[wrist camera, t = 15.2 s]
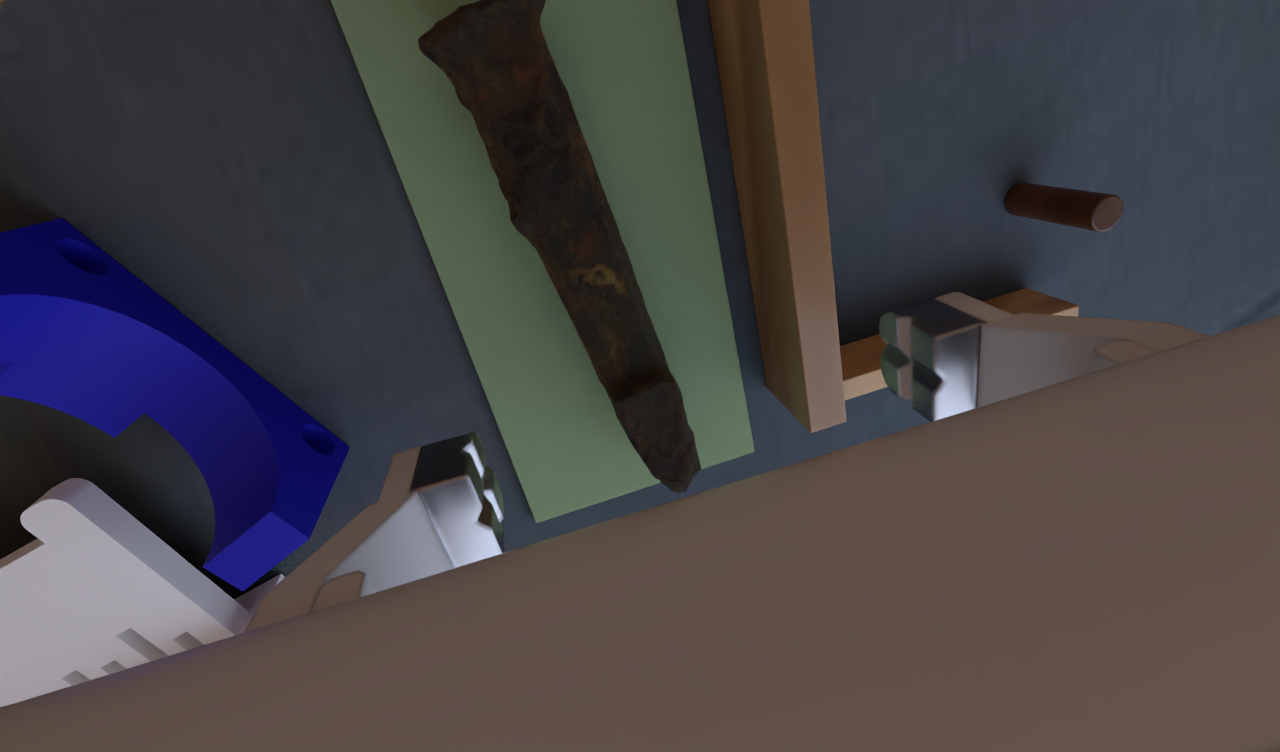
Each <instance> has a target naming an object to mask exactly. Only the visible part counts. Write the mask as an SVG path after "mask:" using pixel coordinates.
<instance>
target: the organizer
mask: <svg viewBox="0 0 1280 752" xmlns="http://www.w3.org/2000/svg"><path fill="white" fill-rule="evenodd" d="M20 521H21V524H22V525H23V527H24V528H25V529H26V530H27V531H29V532H30V533H32V534H33V535H34V536H36V537H37V538H38V539H36V540H34V541H32V542H31V543H29V544H27V545H25V546H23V547H22V548H20V549H18V550H16V551H15V552H13V553H11V554H9V555H7V556H6V557H4V558H2V559H0V707H3V706H6V705H10V704H14V703H17V702H20V701H24V700H27V699H30V698H33V697H37V696H40V695H43V694H46V693H50V692H53V691H56V690H59V689H63V688H66V687H69V686H73V685H76V684H79V683H82V682H86V681H89V680H92V679H95V678H99V677H102V676H105V675H108V674H112V673H115V672H118V671H121V670H125V669H128V668H131V667H134V666H138V665H141V664H144V663H147V662H151V661H154V660H157V659H160V658H164V657H167V656H170V655H174V654H177V653H180V652H183V651H187V650H190V649H193V648H196V647H200V646H203V645H206V644H209V643H213V642H216V641H219V640H222V639H226V638H229V637H232V636H235V635H239V634H242V633H244V631H245V629H246V627H247V625H248V624H249V622H250V620H251V618H252V616H253V614H254V612H255V610H256V608H257V606H258V604H259V602H260V600H261V598H262V597H263V596H264V595H265V594H266V593H268V592H269V591H270V590H271V589H272V588H273V587H275V586H276V585H277V584H278V583H279V582H280V581H282V580H283V579H284V578H285V576H284V575H283V574H279V575H277V576H276V577H274V578H272V579H270V580H268V581H267V582H265V583H263V584H261V585H259V586H258V587H256V588H254V589H252V590H251V591H249V592H247V593H245V594H243V595H242V596H240V597H238V598H236V599H233V598H231V597H230V596H229V595H228V594H227V593H225V592H224V591H223V590H222V589H221V588H219V587H218V586H217V585H216V584H215V583H213V582H212V581H211V580H210V579H208V578H207V577H206V576H205V575H204V574H202V573H201V572H200V571H199V570H198V569H196V568H195V567H194V566H193V565H191V564H190V563H189V562H188V561H187V560H185V559H184V558H183V557H182V556H181V555H179V554H178V553H177V552H176V551H174V550H173V549H172V548H171V547H170V546H168V545H167V544H166V543H165V542H164V541H162V540H161V539H160V538H159V537H158V536H156V535H155V534H154V533H153V532H151V531H150V530H149V529H148V528H147V527H145V526H144V525H143V524H142V523H141V522H139V521H138V520H137V519H136V518H134V517H133V516H132V515H131V514H130V513H128V512H127V511H126V510H125V509H124V508H122V507H121V506H120V505H119V504H117V503H116V502H115V501H114V500H113V499H111V498H110V497H109V496H108V495H107V494H105V493H104V492H103V491H102V490H101V489H99V488H98V487H97V486H96V485H94V484H93V483H92V482H90V481H88V480H85V479H81V478H71V479H68V480H65V481H64V482H62V483H60V484H58V485H56V486H55V487H53V488H51V489H50V490H49V491H48V492H46V493H45V494H44V495H43V496H42V497H40V498H39V499H38V500H37V501H36V502H34V503H33V504H32V505H31V506H30V507H29V508H27V509H26V510H25V511H24V512H23V513H22V514H21V517H20Z"/></svg>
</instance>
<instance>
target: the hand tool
mask: <svg viewBox="0 0 1280 752" xmlns="http://www.w3.org/2000/svg"><path fill="white" fill-rule="evenodd" d="M545 2H546V0H480V1H478V2H475V3H471V4H467V5H463V6H459V7H458V8H457V9H456V10H455V11H454V12H453V13H451V14H449V15H448V16H446V17H445V18H443V19H442V20H440V21H437V22H436V23H435V25H434V26H433V28H431V29H430V30H429V31H427V32H426V33H424V34H423V35H422V36H421V37H420V38H419V39H418V44H419V49H420V51H421V52H422V54H423V55H425V56H426V57H427V58H428V59H429V60H431V61H432V62H433V63H434V64H436V65H437V66H438V67H439V68H440V69H442V70H443V71H444V72H445V74H446V76H447V77H448V78H449V79H450V81H451V82H452V84H453V86H454V88H455V91H456V94H457V97H458V99H459V101H460V103H461V104H462V105H463V106H464V107H465V108H466V109H468V110H469V111H470V112H471V113H472V116H473V118H474V121H475V123H476V126H477V129H478V132H479V134H480V136H481V138H482V140H483V142H484V144H485V148H486V151H487V154H488V157H489V160H490V163H491V166H492V168H493V170H494V172H495V174H496V176H497V178H498V180H499V187H500V189H501V191H502V194H503V195H504V197H505V200H507V201H508V206H509V210H510V221H511V222H512V224H513V225H514V227H515V229H516V230H517V231H518V232H519V233H520V234H521V235H523V236H524V237H525V238H526V239H527V240H528V241H529V242H530V243H531V244H532V246H533V247H534V248H535V249H536V250H537V252H538V254H539V256H540V258H541V260H542V262H543V264H544V266H545V269H546V271H547V273H548V275H549V277H550V279H551V281H552V283H553V285H554V286H555V288H556V290H557V293H558V295H559V297H560V298H561V301H562V303H563V304H564V306H565V308H566V310H567V312H568V314H569V316H570V318H571V320H572V322H573V324H574V326H575V329H576V331H577V333H578V336H579V338H580V339H581V341H582V343H583V345H584V348H585V349H586V351H587V353H588V355H589V357H590V359H591V362H592V365H593V368H594V369H595V372H596V374H597V376H598V379H599V381H600V383H601V384H602V385H603V386H604V388H605V390H606V392H607V394H608V396H609V398H610V400H611V403H612V406H613V408H614V411H615V414H616V416H617V419H618V420H619V422H620V424H621V426H622V428H623V429H624V431H625V433H626V435H627V437H628V439H629V441H630V442H631V444H632V446H633V447H634V449H635V450H636V452H637V453H638V454H639V456H640V457H641V459H642V461H643V462H644V464H645V465H646V466H647V468H648V469H649V471H650V473H651V474H652V475H653V476H654V477H655V478H656V479H658V480H660V482H661V483H662V484H665V485H666V486H667V487H668V488H669V489H670V490H672V491H674V492H677V493H680V492H682V491H685V490H687V488H688V486H689V485H690V483H691V481H692V479H693V477H694V476H695V475H696V474H697V473H698V471H699V470H701V465H700V461H699V456H698V452H697V448H696V444H695V438H694V432H693V431H692V429H691V428H690V426H689V425H688V422H687V416H686V412H685V410H684V404H683V397H682V393H681V391H680V388H679V386H678V383H677V382H676V380H675V378H674V377H673V375H672V373H671V372H670V370H669V367H668V364H667V361H666V358H665V354H664V352H663V349H662V347H661V344H660V342H659V339H658V337H657V334H656V332H655V329H654V326H653V323H652V321H651V318H650V316H649V314H648V312H647V309H646V306H645V302H644V299H643V295H642V293H641V290H640V288H639V285H638V283H637V280H636V277H635V273H634V270H633V267H632V264H631V261H630V258H629V255H628V253H627V250H626V248H625V246H624V243H623V241H622V239H621V235H620V232H619V229H618V226H617V223H616V221H615V218H614V216H613V213H612V210H611V208H610V206H609V203H608V201H607V198H606V195H605V193H604V190H603V187H602V184H601V182H600V179H599V176H598V173H597V171H596V168H595V165H594V162H593V159H592V156H591V153H590V151H589V149H588V146H587V144H586V141H585V139H584V136H583V134H582V131H581V129H580V126H579V123H578V120H577V117H576V115H575V112H574V109H573V106H572V103H571V100H570V97H569V94H568V91H567V89H566V87H565V85H564V84H563V82H562V80H561V78H560V76H559V73H558V71H557V68H556V66H555V63H554V61H553V58H552V56H551V54H550V52H549V49H548V46H547V44H546V41H545V38H544V36H543V32H542V29H541V24H540V17H541V14H542V11H543V8H544V5H545Z"/></svg>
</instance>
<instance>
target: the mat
mask: <svg viewBox="0 0 1280 752" xmlns="http://www.w3.org/2000/svg"><path fill="white" fill-rule="evenodd" d="M478 1H480V0H331V3H332V5H333V8H334V10H335V13H336V15H337V18H338V21H339V23H340V26H341V28H342V31H343V33H344V36H345V38H346V41H347V43H348V46H349V48H350V51H351V54H352V56H353V59H354V61H355V64H356V66H357V69H358V71H359V74H360V76H361V79H362V82H363V84H364V87H365V89H366V92H367V94H368V97H369V99H370V102H371V104H372V107H373V110H374V112H375V115H376V117H377V120H378V122H379V125H380V127H381V130H382V132H383V135H384V137H385V140H386V143H387V145H388V148H389V150H390V153H391V155H392V158H393V160H394V163H395V165H396V168H397V171H398V173H399V176H400V178H401V181H402V183H403V186H404V188H405V191H406V193H407V196H408V199H409V201H410V204H411V206H412V209H413V211H414V214H415V216H416V219H417V221H418V224H419V226H420V229H421V232H422V234H423V237H424V239H425V242H426V244H427V247H428V249H429V252H430V254H431V257H432V260H433V262H434V265H435V267H436V270H437V272H438V275H439V277H440V280H441V282H442V285H443V288H444V290H445V293H446V295H447V298H448V300H449V303H450V305H451V308H452V310H453V313H454V315H455V318H456V321H457V323H458V326H459V328H460V331H461V333H462V336H463V338H464V341H465V343H466V346H467V349H468V351H469V354H470V356H471V359H472V361H473V364H474V366H475V369H476V371H477V374H478V377H479V379H480V382H481V384H482V387H483V389H484V392H485V394H486V397H487V399H488V402H489V404H490V407H491V410H492V412H493V415H494V417H495V420H496V422H497V425H498V427H499V430H500V432H501V435H502V438H503V440H504V443H505V445H506V448H507V450H508V453H509V455H510V458H511V460H512V463H513V466H514V468H515V471H516V473H517V476H518V478H519V481H520V483H521V486H522V488H523V491H524V494H525V496H526V499H527V501H528V504H529V506H530V509H531V511H532V514H533V516H534V519H535V521H536V523H538V522H541V521H544V520H548V519H551V518H554V517H557V516H560V515H563V514H566V513H569V512H572V511H575V510H578V509H581V508H584V507H587V506H590V505H593V504H596V503H600V502H603V501H606V500H609V499H612V498H615V497H618V496H621V495H624V494H627V493H630V492H633V491H636V490H639V489H642V488H645V487H649V486H652V485H655V484H658V483H661V482H660V480H658V479H656V478H655V477H654V476H653V475H652V474H651V473H650V471H649V469H648V468H647V466H646V465H645V464H644V462H643V461H642V459H641V457H640V456H639V454H638V453H637V452H636V450H635V449H634V447H633V446H632V444H631V442H630V441H629V439H628V437H627V435H626V433H625V431H624V429H623V428H622V426H621V424H620V422H619V420H618V419H617V416H616V414H615V411H614V408H613V406H612V403H611V400H610V398H609V396H608V394H607V392H606V390H605V388H604V386H603V385H602V384H601V383H600V381H599V379H598V376H597V374H596V372H595V369H594V368H593V365H592V362H591V359H590V357H589V355H588V353H587V351H586V349H585V348H584V345H583V343H582V341H581V339H580V338H579V336H578V333H577V331H576V329H575V326H574V324H573V322H572V320H571V318H570V316H569V314H568V312H567V310H566V308H565V306H564V304H563V303H562V301H561V298H560V297H559V295H558V293H557V290H556V288H555V286H554V285H553V283H552V281H551V279H550V277H549V275H548V273H547V271H546V269H545V266H544V264H543V262H542V260H541V258H540V256H539V254H538V252H537V250H536V249H535V248H534V247H533V246H532V244H531V243H530V242H529V241H528V240H527V239H526V238H525V237H524V236H523V235H521V234H520V233H519V232H518V231H517V230H516V229H515V227H514V225H513V224H512V222H511V221H510V210H509V206H508V201H507V200H505V197H504V195H503V194H502V191H501V189H500V187H499V180H498V178H497V176H496V174H495V172H494V170H493V168H492V166H491V163H490V160H489V157H488V154H487V151H486V148H485V144H484V142H483V140H482V138H481V136H480V134H479V132H478V129H477V126H476V123H475V121H474V118H473V116H472V113H471V112H470V111H469V110H468V109H466V108H465V107H464V106H463V105H462V104H461V103H460V101H459V99H458V97H457V94H456V91H455V88H454V86H453V84H452V82H451V81H450V79H449V78H448V77H447V76H446V74H445V72H444V71H443V70H442V69H440V68H439V67H438V66H437V65H436V64H434V63H433V62H432V61H431V60H429V59H428V58H427V57H426V56H425V55H423V54H422V52H421V51H420V49H419V44H418V39H419V38H420V37H421V36H422V35H423V34H424V33H426V32H427V31H429V30H430V29H431V28H433V26H434V25H435V23H436V22H437V21H440V20H442V19H443V18H445V17H446V16H448V15H449V14H451V13H453V12H454V11H455V10H456V9H457V8H458V7H459V6H463V5H467V4H471V3H475V2H478ZM540 24H541V29H542V32H543V36H544V38H545V41H546V44H547V46H548V49H549V52H550V54H551V56H552V58H553V61H554V63H555V66H556V68H557V71H558V73H559V76H560V78H561V80H562V82H563V84H564V85H565V87H566V89H567V91H568V94H569V97H570V100H571V103H572V106H573V109H574V112H575V115H576V117H577V120H578V123H579V126H580V129H581V131H582V134H583V136H584V139H585V141H586V144H587V146H588V149H589V151H590V153H591V156H592V159H593V162H594V165H595V168H596V171H597V173H598V176H599V179H600V182H601V184H602V187H603V190H604V193H605V195H606V198H607V201H608V203H609V206H610V208H611V210H612V213H613V216H614V218H615V221H616V223H617V226H618V229H619V232H620V235H621V239H622V241H623V243H624V246H625V248H626V250H627V253H628V255H629V258H630V261H631V264H632V267H633V270H634V273H635V277H636V280H637V283H638V285H639V288H640V290H641V293H642V295H643V299H644V302H645V306H646V309H647V312H648V314H649V316H650V318H651V321H652V323H653V326H654V329H655V332H656V334H657V337H658V339H659V342H660V344H661V347H662V349H663V352H664V354H665V358H666V361H667V364H668V367H669V370H670V372H671V373H672V375H673V377H674V378H675V380H676V382H677V383H678V386H679V388H680V391H681V393H682V397H683V404H684V410H685V412H686V416H687V422H688V425H689V426H690V428H691V429H692V431H693V432H694V438H695V444H696V448H697V452H698V456H699V461H700V465H701V469H704V468H707V467H710V466H713V465H716V464H719V463H722V462H725V461H728V460H731V459H734V458H737V457H740V456H743V455H746V454H749V453H753V452H755V450H754V444H753V439H752V433H751V427H750V421H749V416H748V410H747V404H746V398H745V392H744V387H743V381H742V375H741V369H740V364H739V358H738V352H737V346H736V341H735V335H734V329H733V323H732V317H731V312H730V306H729V300H728V294H727V289H726V283H725V277H724V271H723V266H722V260H721V254H720V248H719V243H718V237H717V231H716V225H715V219H714V214H713V208H712V202H711V196H710V191H709V185H708V179H707V173H706V168H705V162H704V156H703V150H702V144H701V139H700V133H699V127H698V121H697V116H696V110H695V104H694V98H693V93H692V87H691V81H690V75H689V69H688V64H687V58H686V52H685V46H684V41H683V35H682V29H681V23H680V18H679V12H678V6H677V0H546V2H545V5H544V8H543V11H542V14H541V17H540Z"/></svg>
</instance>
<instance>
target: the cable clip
mask: <svg viewBox="0 0 1280 752" xmlns="http://www.w3.org/2000/svg"><path fill="white" fill-rule="evenodd" d="M0 395H4V396H10V397H14V398H19V399H23V400H28V401H31V402H35V403H38V404H42V405H45V406H48V407H51V408H54V409H57V410H60V411H62V412H65V413H67V414H70V415H72V416H74V417H77V418H79V419H81V420H83V421H85V422H87V423H89V424H91V425H93V426H95V427H97V428H99V429H100V430H102V431H104V432H106V433H107V434H109V435H111V436H112V437H114V438H115V437H116V436H117V435H119V434H120V433H121V432H122V431H123V430H125V429H126V428H127V427H128V426H129V425H130V424H132V423H133V422H134V421H135V420H136V419H138V418H139V417H140V416H141V415H142V414H143V413H146V414H147V415H148V416H150V417H151V418H152V419H154V420H155V421H156V422H157V423H159V424H160V425H161V426H162V427H164V428H165V429H166V430H167V431H168V432H169V433H170V434H171V435H172V436H173V437H174V438H175V439H176V440H177V441H178V442H179V443H180V444H181V445H182V446H183V447H184V449H185V450H186V451H187V452H188V454H189V455H190V456H191V457H192V459H193V460H194V462H195V463H196V465H197V466H198V468H199V469H200V471H201V473H202V475H203V477H204V478H205V481H206V483H207V485H208V488H209V490H210V493H211V497H212V500H213V504H214V510H215V522H216V525H215V536H214V540H213V545H212V548H211V550H210V553H209V556H208V558H207V559H206V561H205V563H204V565H203V568H205V569H207V570H208V571H210V572H211V573H213V574H215V575H216V576H218V577H220V578H221V579H223V580H225V581H226V582H228V583H230V584H231V585H233V586H235V587H236V588H238V589H239V590H241V591H244V590H245V589H247V588H248V587H249V586H250V585H252V584H253V583H254V582H255V581H257V580H258V579H259V578H260V577H262V576H263V575H264V574H265V573H267V572H268V571H269V570H270V569H272V568H273V567H274V566H275V565H277V564H278V563H279V562H280V561H282V560H283V559H284V558H285V557H287V556H288V555H289V554H290V553H292V552H293V551H294V550H295V549H297V548H298V547H299V546H301V545H302V544H303V543H304V542H306V541H307V540H308V539H309V538H310V536H311V534H312V531H313V529H314V527H315V525H316V522H317V520H318V518H319V516H320V513H321V511H322V509H323V507H324V504H325V502H326V500H327V498H328V495H329V493H330V491H331V489H332V486H333V484H334V482H335V480H336V477H337V475H338V473H339V471H340V468H341V466H342V464H343V462H344V459H345V457H346V455H347V453H348V450H349V448H350V447H349V446H347V445H346V444H345V443H344V442H342V441H341V440H340V439H339V438H337V437H336V436H335V435H334V434H332V433H331V432H330V431H329V430H327V429H326V428H325V427H324V426H322V425H321V424H320V423H319V422H317V421H316V420H315V419H314V418H312V417H311V416H310V415H309V414H307V413H306V412H305V411H304V410H302V409H301V408H300V407H299V406H297V405H296V404H295V403H294V402H292V401H291V400H290V399H289V398H287V397H286V396H285V395H284V394H282V393H281V392H280V391H279V390H277V389H276V388H275V387H274V386H272V385H271V384H270V383H269V382H267V381H266V380H265V379H264V378H262V377H261V376H260V375H259V374H257V373H256V372H255V371H254V370H252V369H251V368H250V367H248V366H247V365H246V364H245V363H243V362H242V361H241V360H240V359H238V358H237V357H236V356H235V355H233V354H232V353H231V352H230V351H228V350H227V349H226V348H225V347H223V346H222V345H221V344H220V343H218V342H217V341H216V340H215V339H213V338H212V337H211V336H210V335H208V334H207V333H206V332H205V331H203V330H202V329H201V328H200V327H198V326H197V325H196V324H195V323H193V322H192V321H191V320H190V319H188V318H187V317H186V316H185V315H183V314H182V313H181V312H180V311H178V310H177V309H176V308H175V307H173V306H172V305H171V304H170V303H168V302H167V301H166V300H165V299H163V298H162V297H161V296H160V295H158V294H157V293H156V292H155V291H153V290H152V289H151V288H150V287H148V286H147V285H146V284H145V283H143V282H142V281H141V280H140V279H138V278H137V277H136V276H135V275H133V274H132V273H131V272H129V271H128V270H127V269H126V268H124V267H123V266H122V265H121V264H119V263H118V262H117V261H116V260H114V259H113V258H112V257H111V256H109V255H108V254H107V253H106V252H104V251H103V250H102V249H101V248H99V247H98V246H97V245H96V244H94V243H93V242H92V241H91V240H89V239H88V238H87V237H86V236H84V235H83V234H82V233H81V232H79V231H78V230H77V229H76V228H74V227H73V226H72V225H71V224H69V223H68V222H67V221H66V220H64V219H63V218H60V219H56V220H52V221H47V222H43V223H39V224H35V225H31V226H27V227H22V228H18V229H14V230H10V231H6V232H2V233H0Z"/></svg>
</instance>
